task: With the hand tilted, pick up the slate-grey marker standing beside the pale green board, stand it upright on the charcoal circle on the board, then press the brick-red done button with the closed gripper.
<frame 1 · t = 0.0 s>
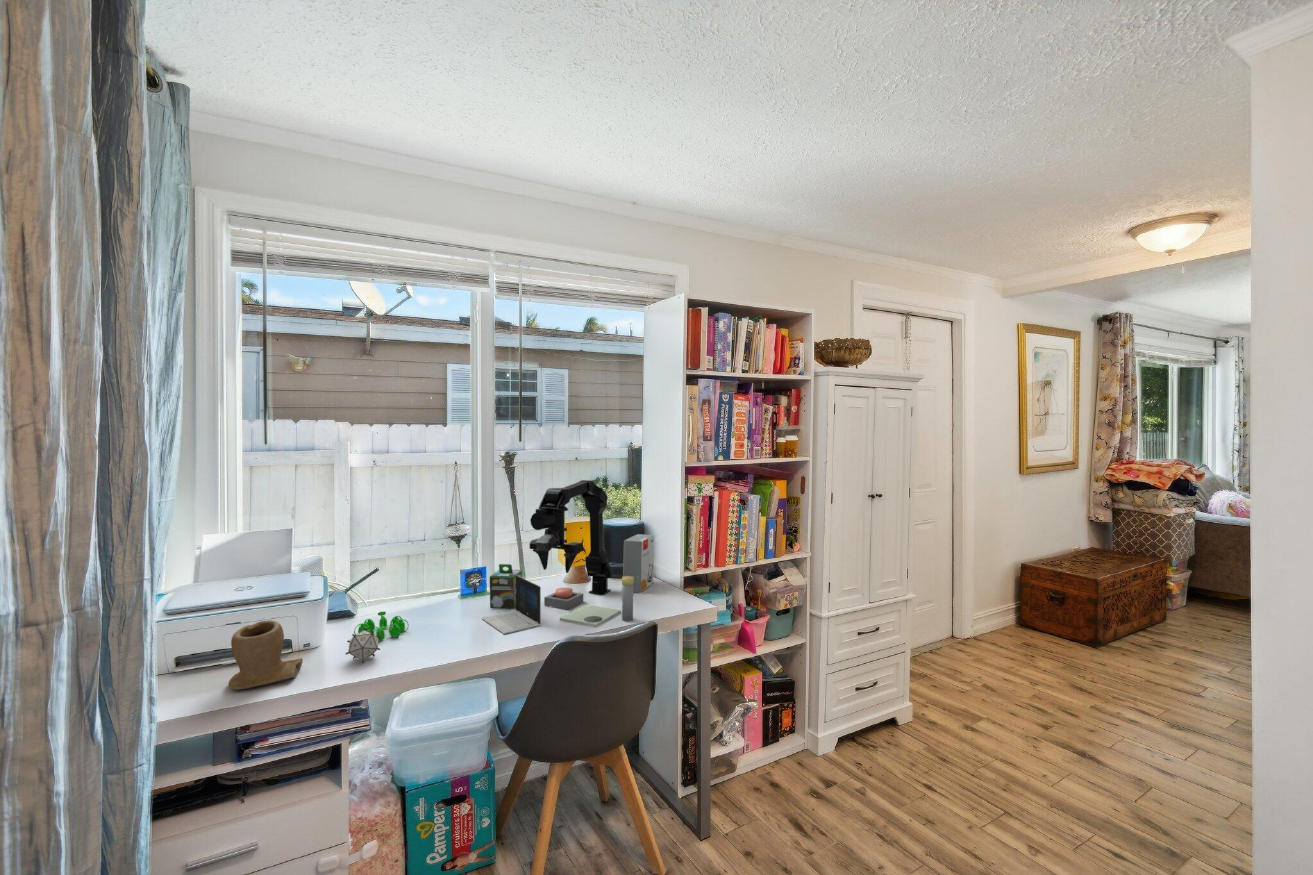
hand: (556, 571, 192), 15 cm above the table, tool pointing down, fingers open, 9 cm apart
done button: (564, 593, 203), point 4 cm above the table, slide at 0.0 cm
button housing: (564, 603, 204), on the table
hard drive box: (638, 587, 225), on the table
marker: (627, 619, 187), on the table
chalk box: (506, 604, 202), on the table
laptop: (510, 623, 184), on the table
game die: (363, 660, 154), on the table
stone cup: (266, 683, 140), on the table
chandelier: (381, 635, 173), on the table
pale green board: (590, 616, 190), on the table
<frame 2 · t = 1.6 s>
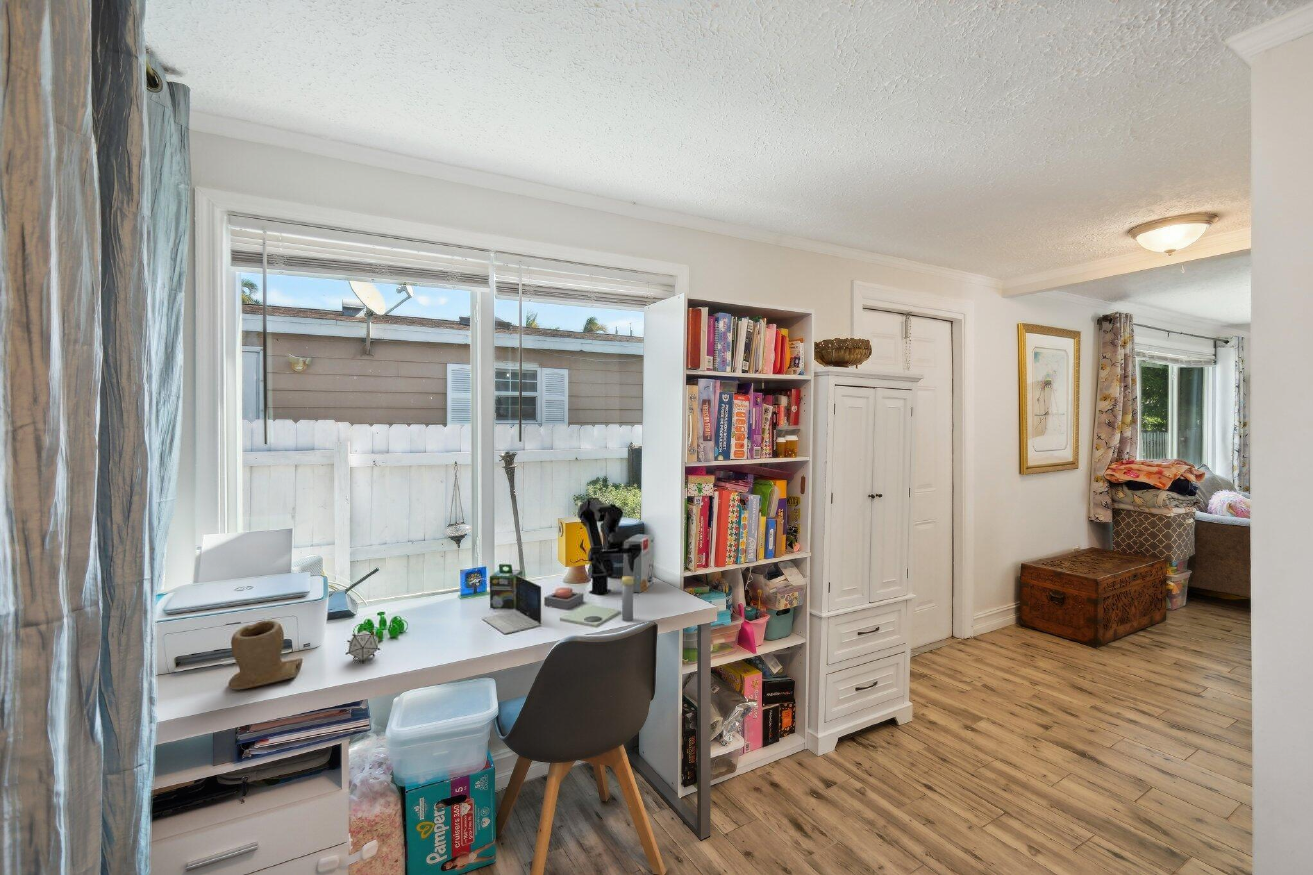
hand: (619, 573, 194), 13 cm above the table, tool tilted 45°, fingers open, 9 cm apart
nothing on the table moved.
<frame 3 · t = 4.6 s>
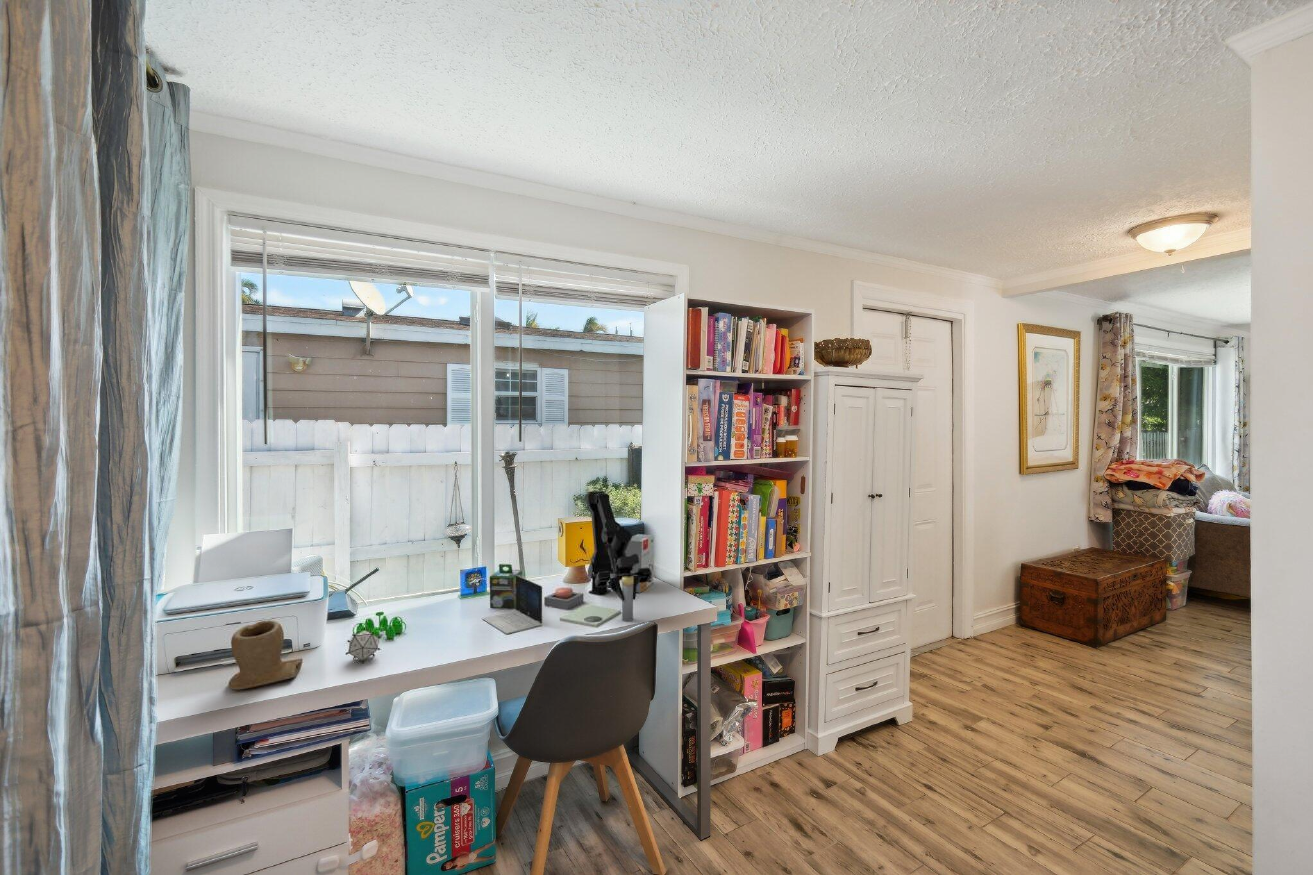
hand: (629, 599, 186), 7 cm above the table, tool tilted 45°, fingers closed on marker, 4 cm apart
marker: (627, 619, 187), on the table, touching gripper
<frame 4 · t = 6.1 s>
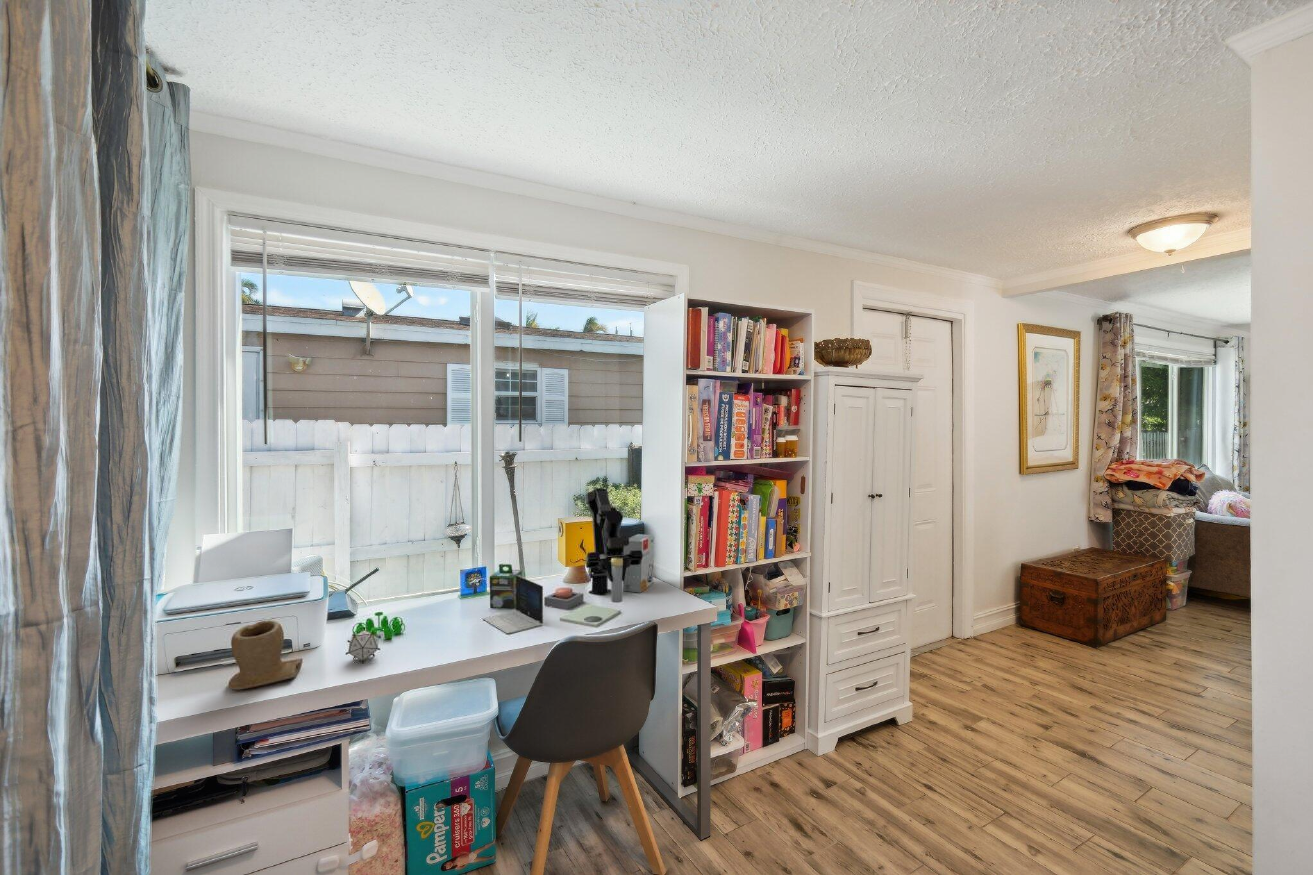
hand: (617, 581, 184), 14 cm above the table, tool tilted 45°, fingers closed on marker, 4 cm apart
marker: (616, 600, 186), point 7 cm above the table, touching gripper
when the fingers open (9 cm above the table, at t = 8.1 s): marker drops 1 cm, resting on pale green board.
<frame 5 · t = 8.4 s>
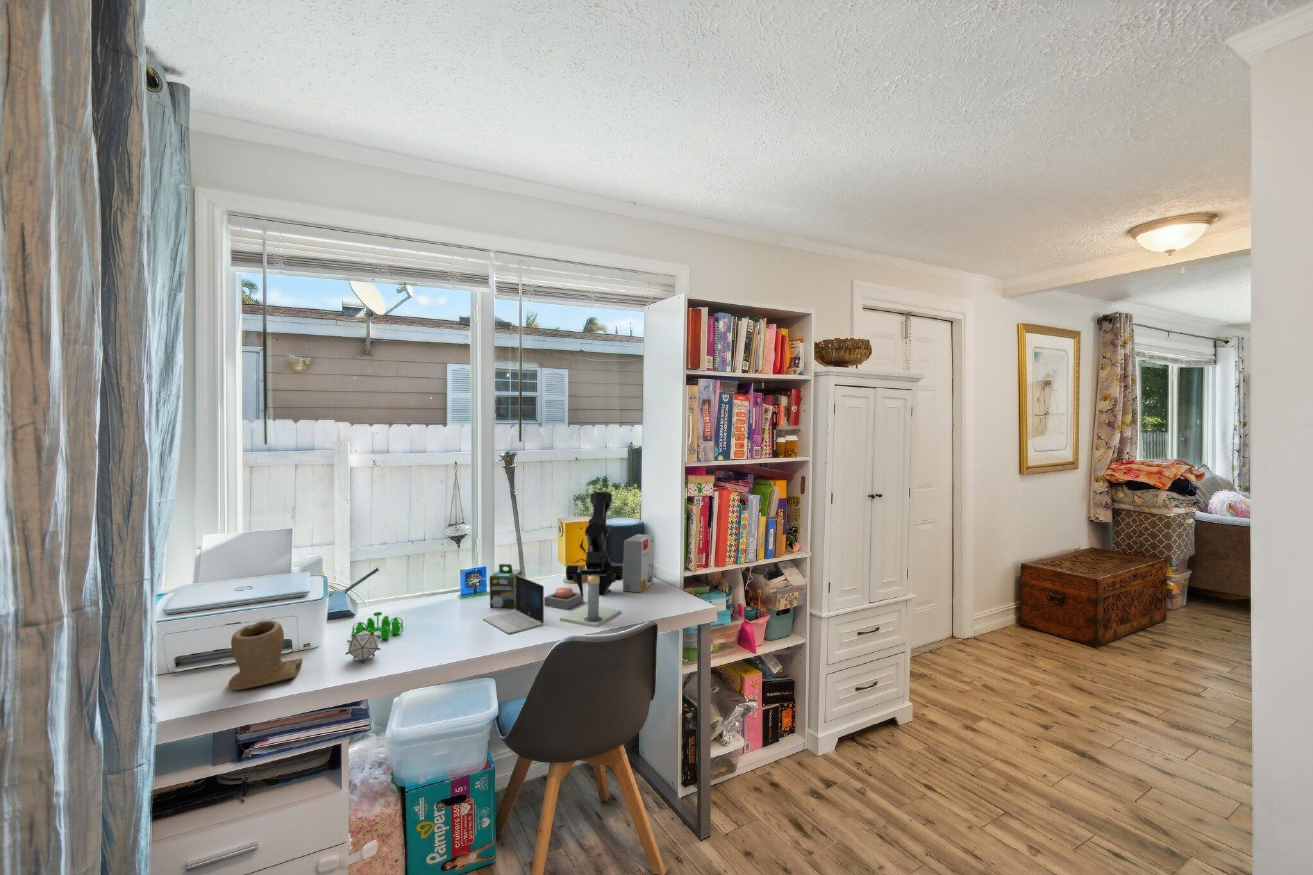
hand: (592, 595, 183), 9 cm above the table, tool tilted 45°, fingers open, 7 cm apart
marker: (593, 618, 185), point 1 cm above the table, touching pale green board
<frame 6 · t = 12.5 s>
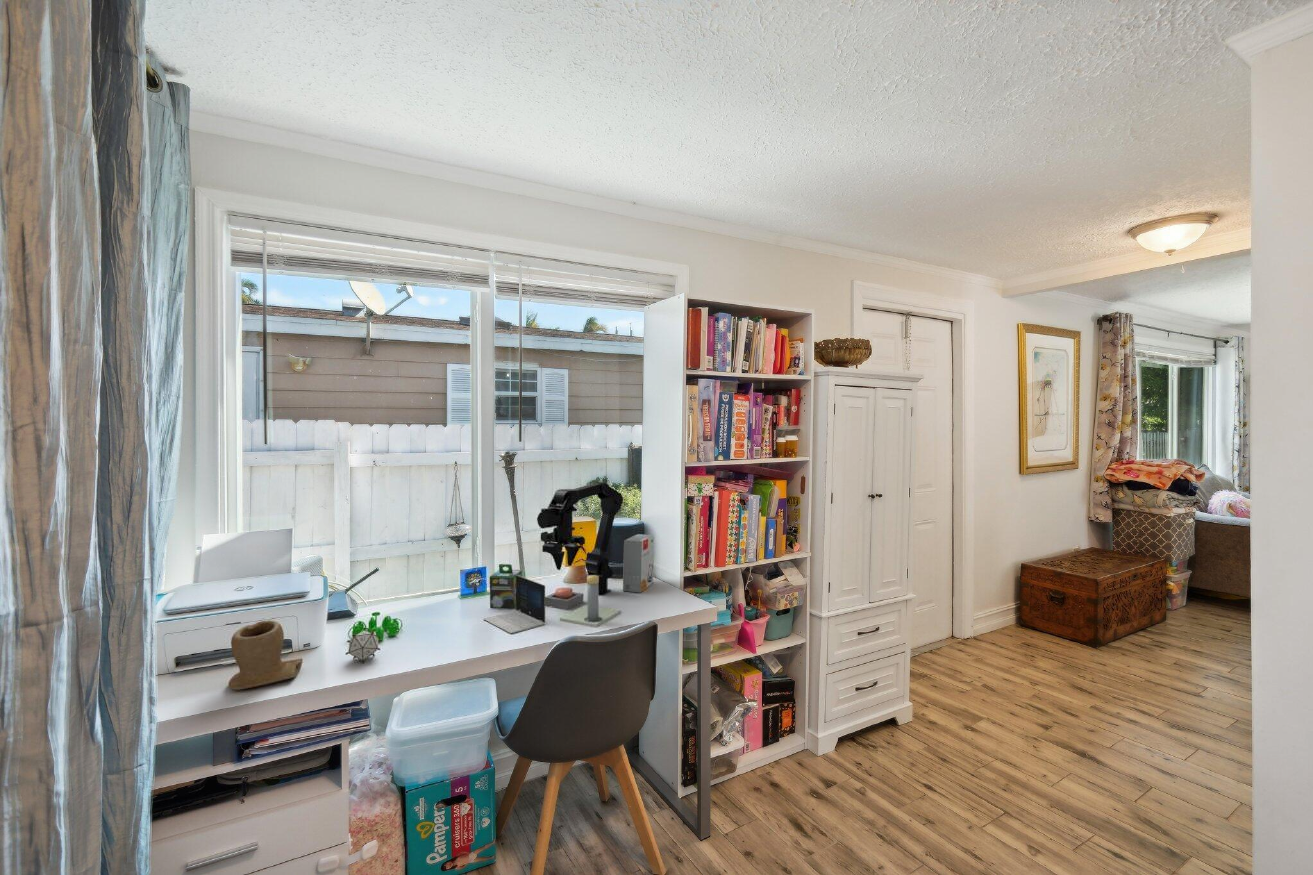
hand: (564, 567, 203), 13 cm above the table, tool pointing down, fingers open, 6 cm apart
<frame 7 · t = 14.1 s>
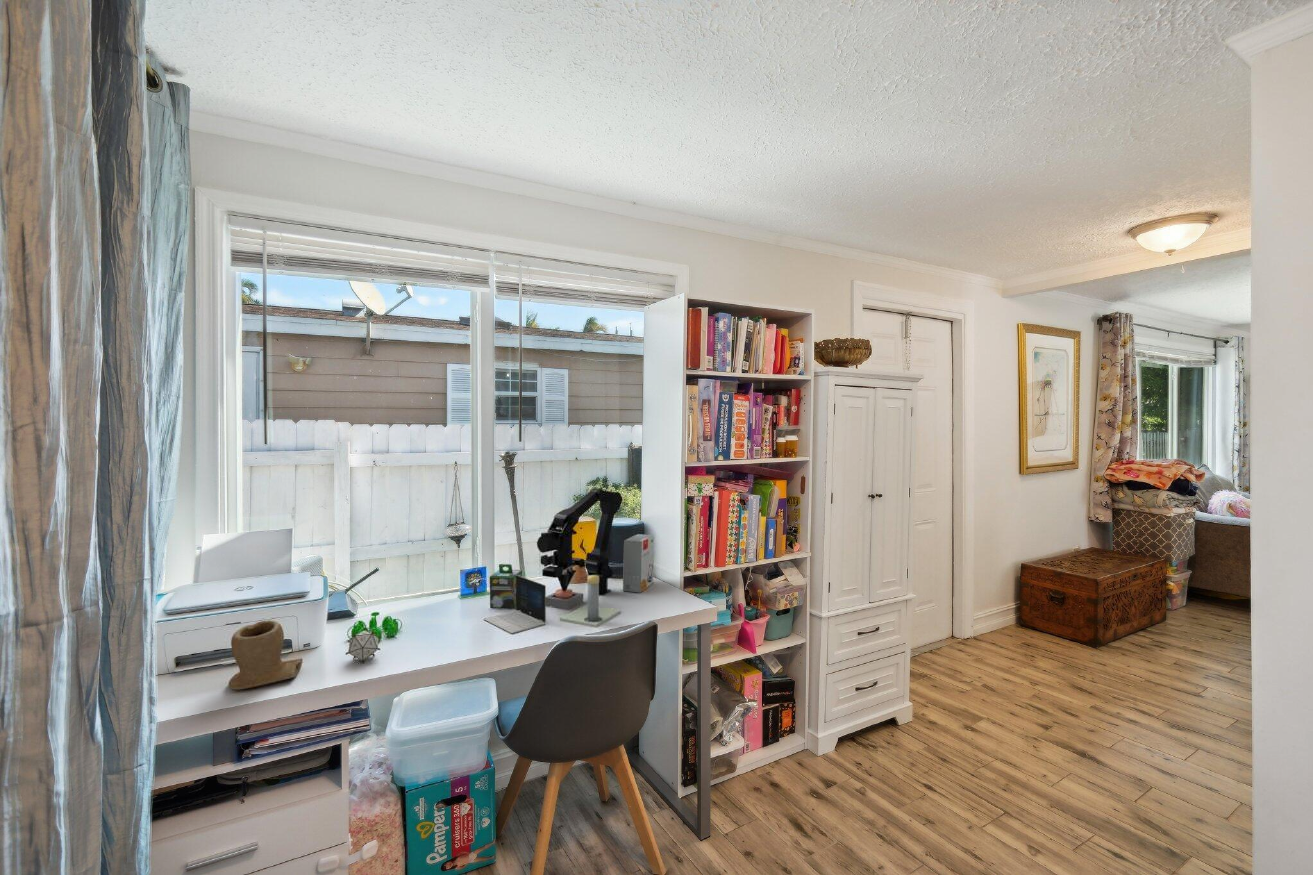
hand: (564, 590, 203), 5 cm above the table, tool pointing down, fingers closed, pressing on done button
done button: (564, 594, 203), point 3 cm above the table, slide at 0.4 cm, touching gripper
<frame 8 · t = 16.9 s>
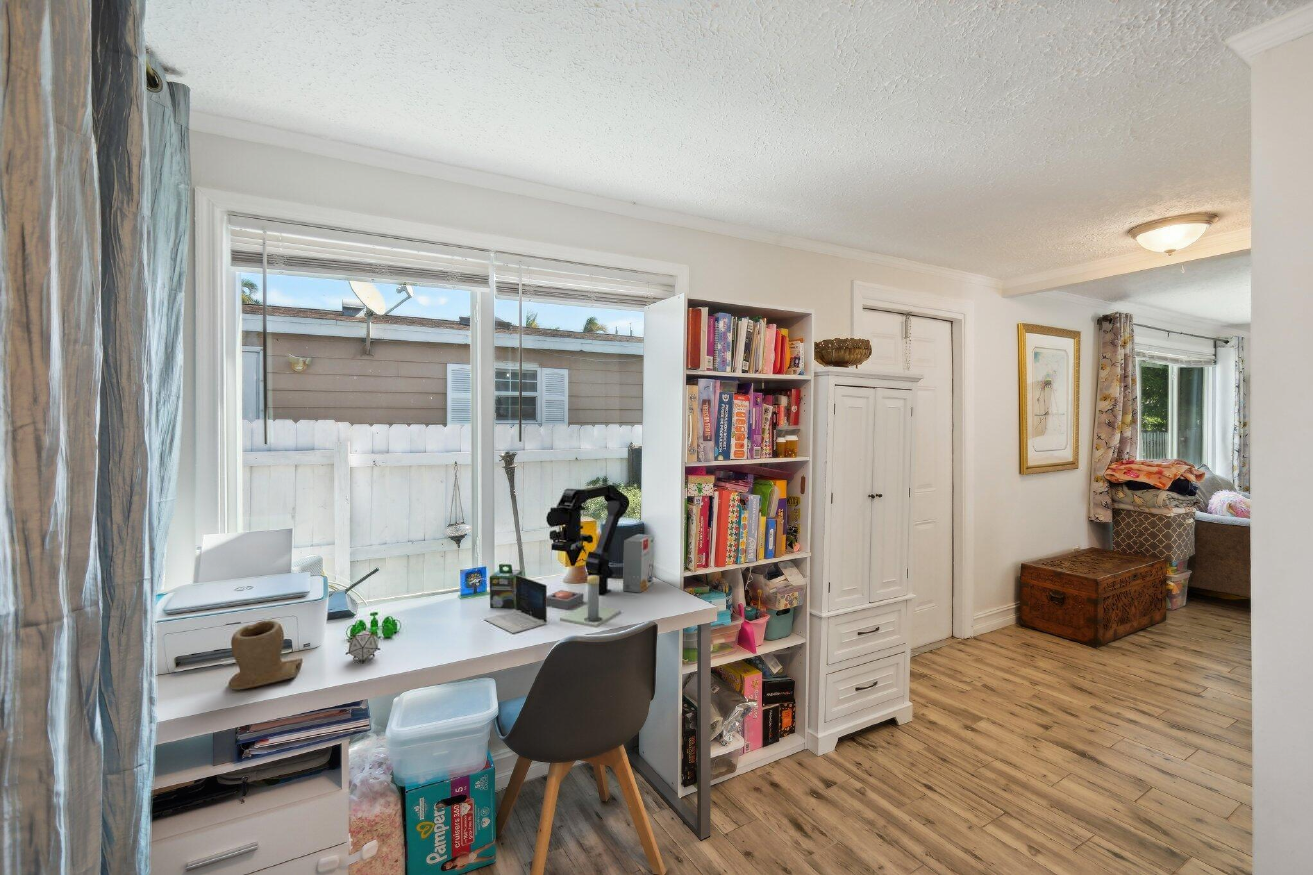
hand: (572, 565, 206), 13 cm above the table, tool pointing down, fingers closed
done button: (564, 596, 203), point 2 cm above the table, slide at 1.3 cm
at the end: marker 0.0 cm from the target spot, point 0.8 cm above the table; marker tilted 1°; done button slide at 1.3 cm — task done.
